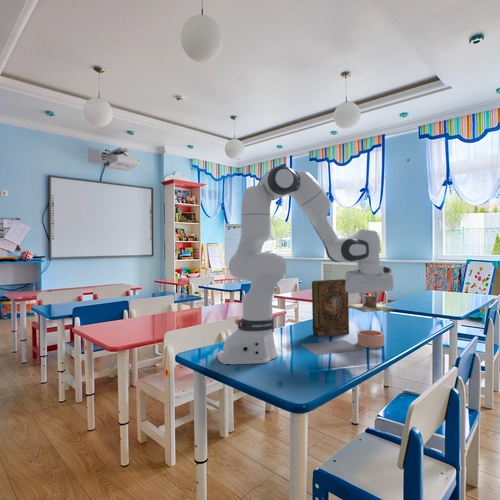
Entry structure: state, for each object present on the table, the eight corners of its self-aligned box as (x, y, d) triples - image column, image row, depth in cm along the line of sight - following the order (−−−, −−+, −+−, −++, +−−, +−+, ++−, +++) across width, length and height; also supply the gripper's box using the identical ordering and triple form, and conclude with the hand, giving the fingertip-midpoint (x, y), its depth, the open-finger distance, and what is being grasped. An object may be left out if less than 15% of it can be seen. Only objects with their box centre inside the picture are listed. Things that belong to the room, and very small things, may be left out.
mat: (315, 356, 128) (315, 355, 128) (300, 345, 143) (300, 344, 143) (364, 351, 133) (364, 350, 133) (344, 341, 147) (344, 340, 147)
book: (344, 332, 163) (343, 279, 163) (351, 334, 158) (349, 280, 158) (312, 335, 159) (311, 280, 159) (318, 338, 154) (317, 281, 154)
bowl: (366, 349, 135) (366, 336, 135) (353, 343, 144) (352, 331, 144) (389, 347, 137) (388, 334, 137) (374, 341, 147) (374, 329, 147)
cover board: (364, 312, 133) (364, 299, 133) (347, 306, 146) (346, 295, 146) (393, 309, 136) (393, 297, 136) (374, 304, 149) (374, 293, 149)
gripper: (349, 270, 135) (350, 306, 135) (395, 268, 140) (396, 302, 140) (341, 269, 141) (342, 303, 141) (385, 267, 146) (386, 300, 146)
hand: (369, 303), depth 141 cm, fingers closed on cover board, 3 cm apart
